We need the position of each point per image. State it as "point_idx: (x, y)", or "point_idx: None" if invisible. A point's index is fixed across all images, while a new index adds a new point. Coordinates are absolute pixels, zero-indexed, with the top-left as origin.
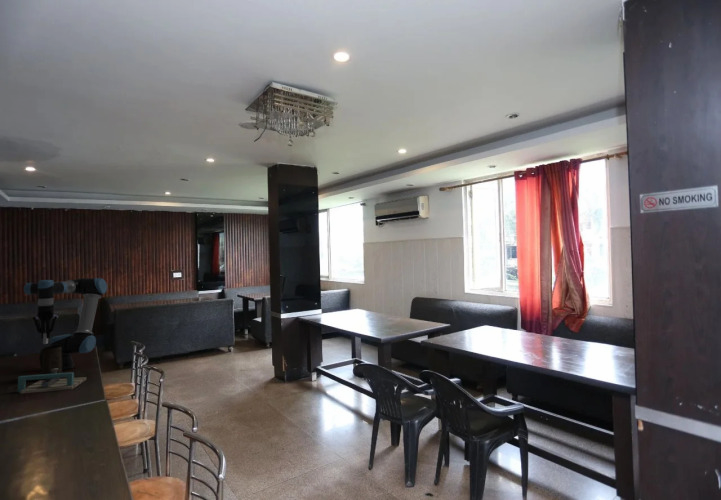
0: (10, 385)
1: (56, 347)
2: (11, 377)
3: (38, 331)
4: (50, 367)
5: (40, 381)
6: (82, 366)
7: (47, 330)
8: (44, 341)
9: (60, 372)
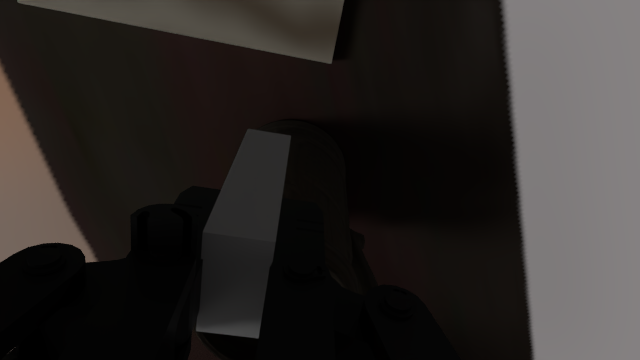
0: (491, 95)
1: (252, 354)
2: (505, 287)
3: (403, 301)
4: None
5: (317, 35)
6: (197, 356)
7: (137, 289)
8: (266, 149)
9: None
